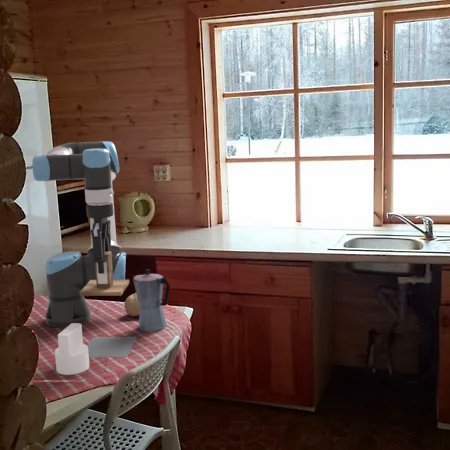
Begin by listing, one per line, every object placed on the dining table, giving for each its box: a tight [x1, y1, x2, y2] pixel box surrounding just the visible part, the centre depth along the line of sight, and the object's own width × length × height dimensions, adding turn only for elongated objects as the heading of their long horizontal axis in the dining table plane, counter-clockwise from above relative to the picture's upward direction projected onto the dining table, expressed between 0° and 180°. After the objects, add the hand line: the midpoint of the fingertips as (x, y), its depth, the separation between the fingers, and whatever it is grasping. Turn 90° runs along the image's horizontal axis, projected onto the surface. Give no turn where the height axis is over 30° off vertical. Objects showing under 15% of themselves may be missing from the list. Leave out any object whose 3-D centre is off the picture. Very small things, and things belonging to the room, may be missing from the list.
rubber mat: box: [87, 336, 138, 359], centre depth 178 cm, size 15×14×1 cm
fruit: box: [124, 292, 140, 317], centre depth 204 cm, size 8×8×8 cm
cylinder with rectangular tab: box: [54, 323, 90, 376], centre depth 163 cm, size 9×9×12 cm
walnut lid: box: [80, 251, 131, 297], centre depth 173 cm, size 12×12×11 cm
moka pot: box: [132, 268, 171, 333], centre depth 191 cm, size 10×15×20 cm, turn 59°
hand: (104, 280), depth 174 cm, fingers closed on walnut lid, 4 cm apart
